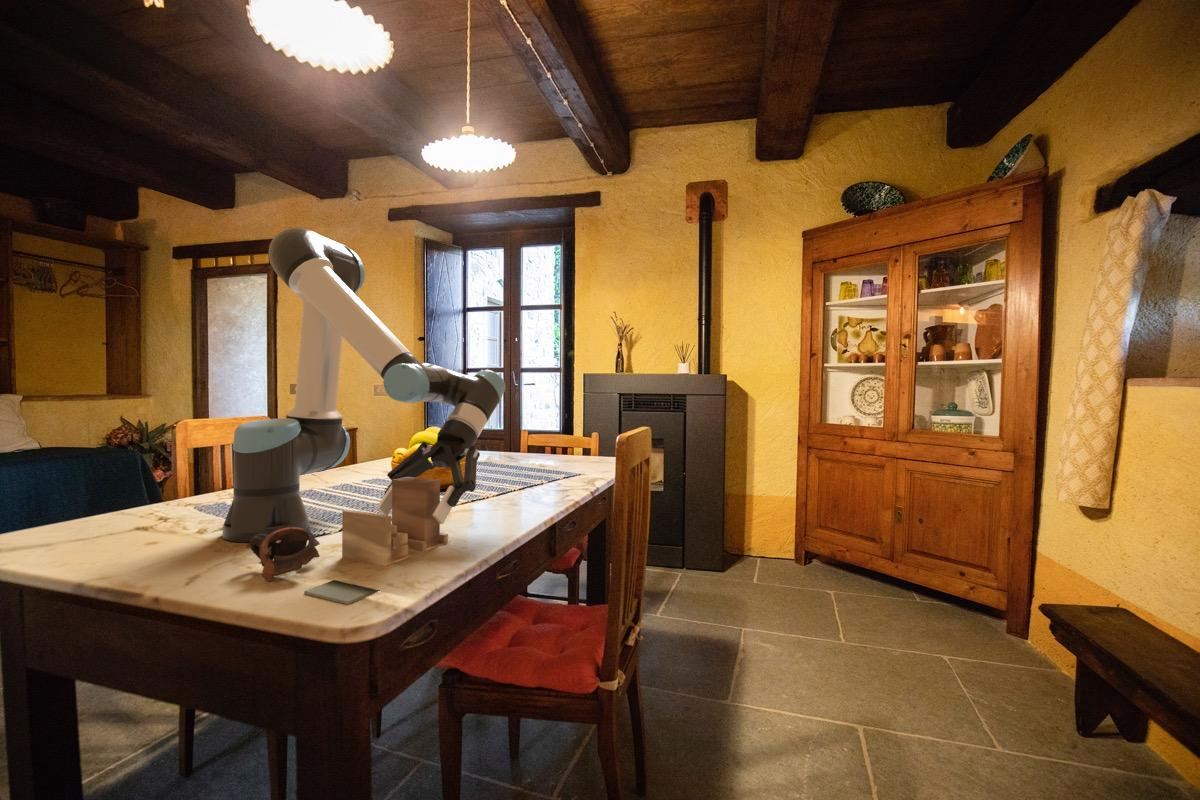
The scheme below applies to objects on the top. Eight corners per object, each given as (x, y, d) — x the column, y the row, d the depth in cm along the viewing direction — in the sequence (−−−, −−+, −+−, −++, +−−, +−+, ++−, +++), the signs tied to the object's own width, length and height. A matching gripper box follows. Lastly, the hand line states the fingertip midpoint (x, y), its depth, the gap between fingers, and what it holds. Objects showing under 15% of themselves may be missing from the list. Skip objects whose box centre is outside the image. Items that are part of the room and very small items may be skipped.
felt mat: (355, 574, 85) (355, 572, 85) (397, 583, 81) (397, 580, 81) (304, 593, 77) (304, 590, 77) (347, 604, 73) (347, 601, 73)
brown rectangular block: (407, 537, 102) (408, 476, 102) (439, 543, 99) (440, 479, 99) (391, 543, 99) (392, 479, 98) (424, 548, 95) (424, 483, 95)
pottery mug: (333, 564, 91) (332, 529, 87) (297, 607, 83) (293, 571, 79) (269, 545, 92) (265, 509, 88) (227, 586, 84) (220, 549, 80)
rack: (411, 540, 104) (411, 494, 104) (450, 547, 100) (451, 499, 100) (342, 564, 90) (342, 510, 90) (385, 573, 86) (385, 517, 86)
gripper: (518, 444, 108) (472, 534, 94) (425, 438, 118) (370, 519, 104) (504, 419, 103) (453, 511, 89) (407, 416, 113) (348, 497, 99)
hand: (408, 515), depth 97 cm, fingers open, 13 cm apart
